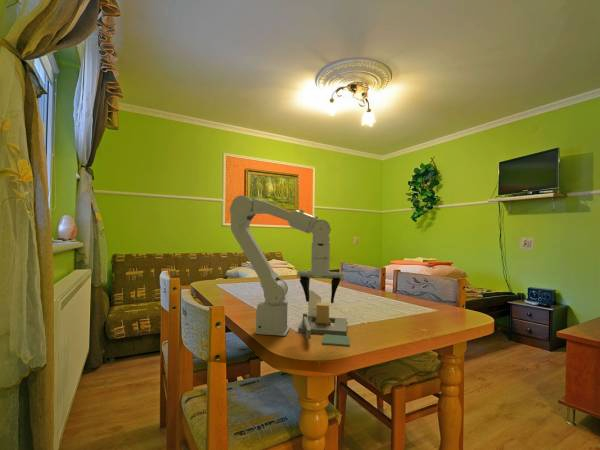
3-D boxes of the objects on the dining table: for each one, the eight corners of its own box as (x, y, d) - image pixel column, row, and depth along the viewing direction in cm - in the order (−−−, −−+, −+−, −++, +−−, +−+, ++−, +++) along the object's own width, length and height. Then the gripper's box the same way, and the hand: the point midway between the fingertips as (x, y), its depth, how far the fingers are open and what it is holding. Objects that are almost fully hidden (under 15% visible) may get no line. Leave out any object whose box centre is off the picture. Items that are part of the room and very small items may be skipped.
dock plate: (298, 331, 91) (298, 328, 91) (304, 319, 105) (304, 315, 105) (346, 335, 88) (346, 331, 88) (346, 321, 102) (346, 318, 102)
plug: (314, 326, 96) (314, 305, 97) (316, 322, 101) (316, 301, 102) (330, 327, 95) (330, 306, 96) (330, 323, 101) (331, 302, 101)
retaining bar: (302, 322, 96) (302, 313, 96) (306, 322, 96) (307, 313, 96) (306, 339, 80) (306, 328, 81) (311, 339, 81) (311, 328, 81)
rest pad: (321, 344, 81) (321, 342, 81) (323, 335, 88) (323, 334, 88) (349, 346, 80) (349, 344, 80) (349, 337, 87) (349, 336, 87)
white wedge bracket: (301, 313, 103) (308, 290, 107) (314, 321, 110) (321, 299, 114) (309, 315, 101) (316, 291, 105) (322, 323, 108) (329, 301, 111)
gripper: (344, 257, 93) (343, 300, 93) (300, 256, 96) (299, 297, 95) (343, 259, 86) (343, 305, 86) (295, 258, 89) (295, 302, 88)
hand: (319, 301), depth 90 cm, fingers open, 7 cm apart
